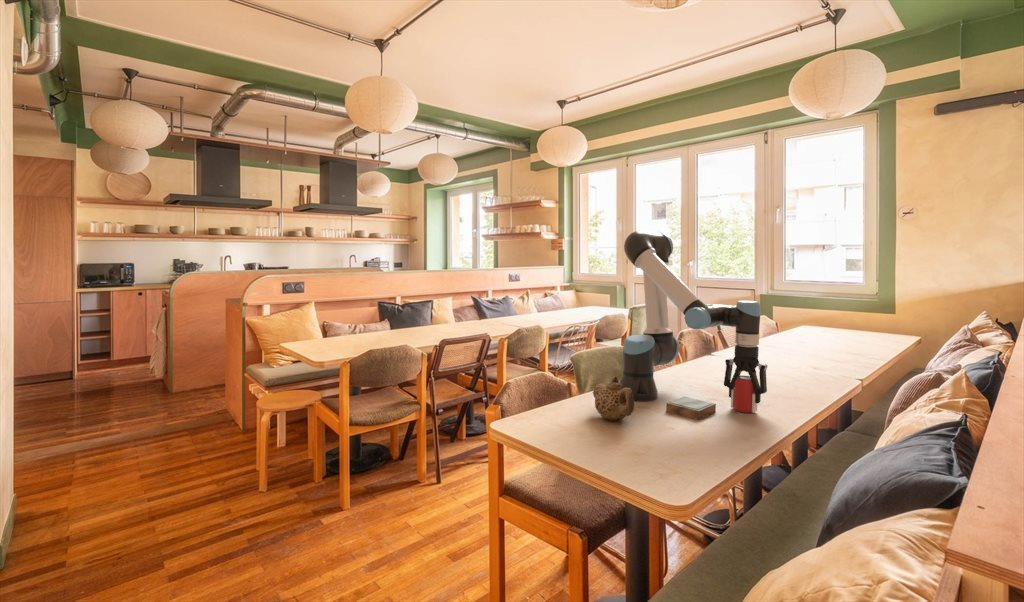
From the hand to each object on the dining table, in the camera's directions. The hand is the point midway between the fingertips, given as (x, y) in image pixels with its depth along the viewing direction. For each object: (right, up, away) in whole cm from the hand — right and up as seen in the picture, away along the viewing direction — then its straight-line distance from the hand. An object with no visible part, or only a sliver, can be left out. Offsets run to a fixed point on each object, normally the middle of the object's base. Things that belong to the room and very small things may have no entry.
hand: (743, 409), depth 175 cm
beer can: (0, -1, 0) cm, 1 cm away
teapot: (-48, -2, -9) cm, 49 cm away
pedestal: (-19, -1, -1) cm, 19 cm away
